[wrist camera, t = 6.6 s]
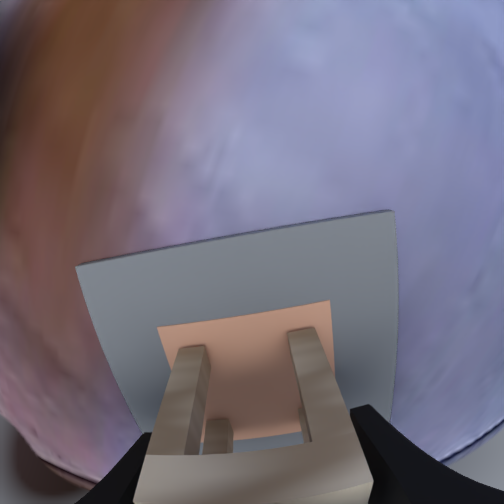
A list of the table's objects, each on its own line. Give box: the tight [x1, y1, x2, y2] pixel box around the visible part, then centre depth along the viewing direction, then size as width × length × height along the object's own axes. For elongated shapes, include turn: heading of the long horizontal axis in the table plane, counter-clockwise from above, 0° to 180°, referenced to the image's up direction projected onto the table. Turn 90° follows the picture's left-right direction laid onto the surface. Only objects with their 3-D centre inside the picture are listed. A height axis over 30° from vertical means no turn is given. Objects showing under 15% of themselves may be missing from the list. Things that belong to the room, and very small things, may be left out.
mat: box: [75, 210, 399, 455], centre depth 12 cm, size 12×12×1 cm
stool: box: [133, 328, 373, 504], centre depth 8 cm, size 5×5×6 cm
